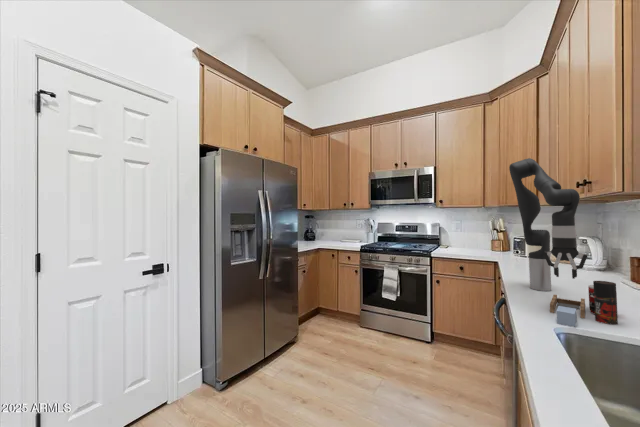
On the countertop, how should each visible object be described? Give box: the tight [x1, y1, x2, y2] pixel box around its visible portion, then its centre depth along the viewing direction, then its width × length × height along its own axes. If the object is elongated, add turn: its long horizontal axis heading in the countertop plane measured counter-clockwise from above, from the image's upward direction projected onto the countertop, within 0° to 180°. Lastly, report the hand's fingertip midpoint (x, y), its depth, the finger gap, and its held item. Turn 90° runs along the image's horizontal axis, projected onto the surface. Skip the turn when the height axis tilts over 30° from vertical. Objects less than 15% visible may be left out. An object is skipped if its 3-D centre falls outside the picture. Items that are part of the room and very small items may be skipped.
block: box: [556, 306, 578, 328], centre depth 101 cm, size 8×5×5 cm, turn 133°
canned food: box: [587, 284, 618, 315], centre depth 109 cm, size 8×8×11 cm
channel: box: [549, 294, 586, 319], centre depth 114 cm, size 19×10×4 cm, turn 134°
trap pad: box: [557, 303, 580, 310], centre depth 118 cm, size 5×7×1 cm
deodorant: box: [592, 280, 619, 326], centre depth 101 cm, size 6×6×15 cm
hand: (565, 277), depth 110 cm, fingers open, 4 cm apart
